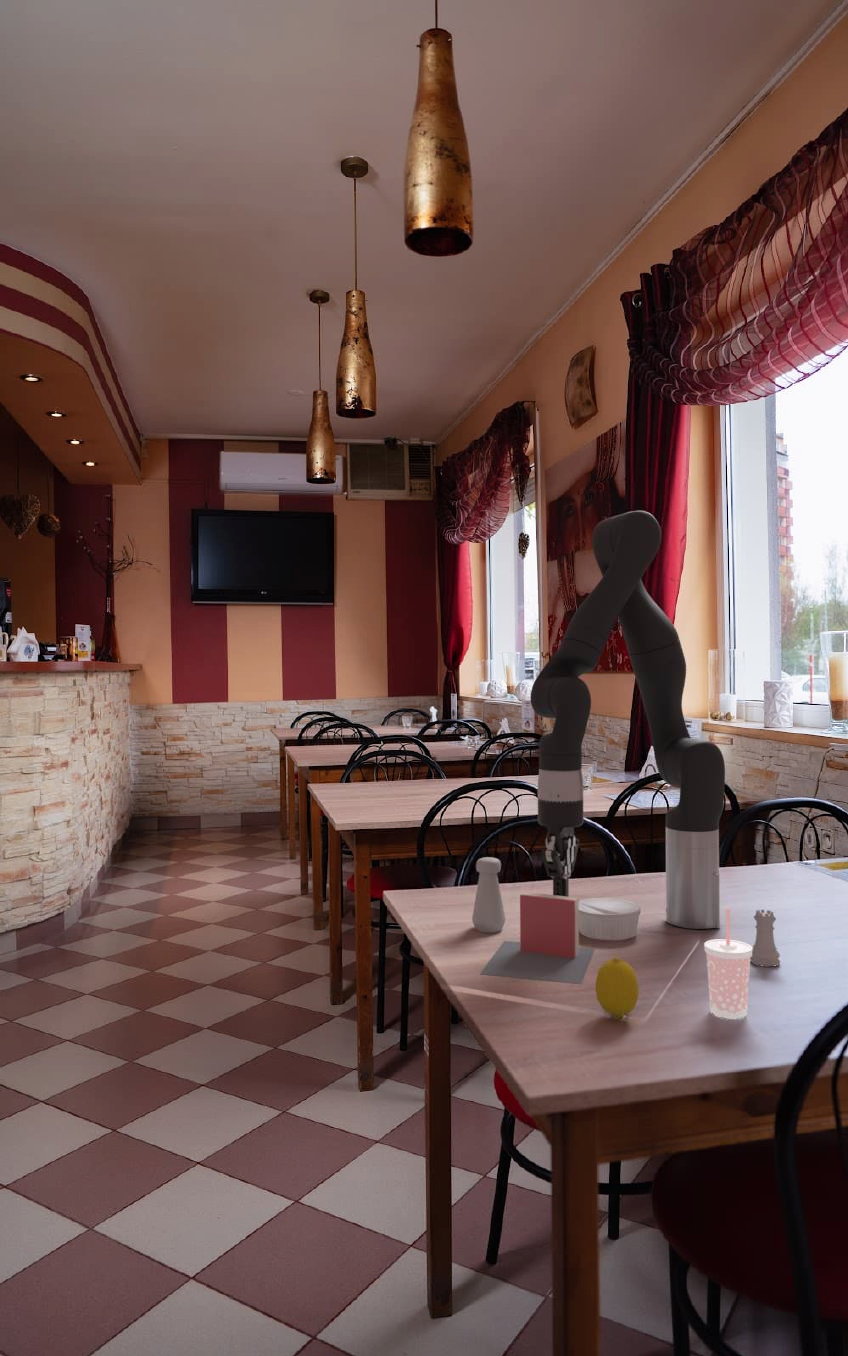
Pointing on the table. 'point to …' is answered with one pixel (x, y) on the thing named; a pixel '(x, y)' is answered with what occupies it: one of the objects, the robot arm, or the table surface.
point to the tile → (549, 924)
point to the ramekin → (608, 918)
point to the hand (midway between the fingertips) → (560, 900)
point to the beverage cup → (728, 975)
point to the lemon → (617, 987)
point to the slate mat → (537, 964)
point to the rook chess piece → (765, 940)
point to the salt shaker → (488, 897)
